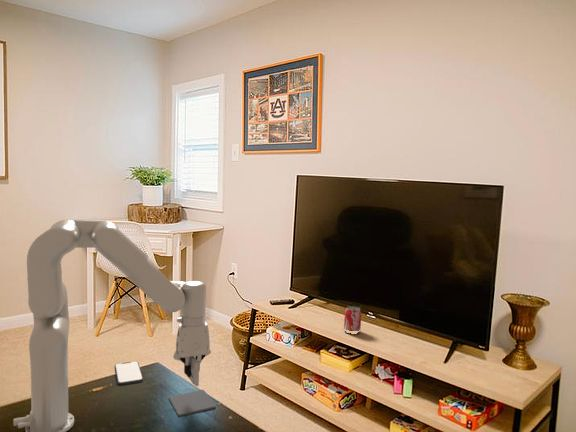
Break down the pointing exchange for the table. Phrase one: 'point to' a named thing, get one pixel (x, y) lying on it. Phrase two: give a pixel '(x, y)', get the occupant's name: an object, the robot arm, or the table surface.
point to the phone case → (128, 373)
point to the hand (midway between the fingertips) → (191, 374)
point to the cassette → (194, 371)
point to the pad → (191, 402)
